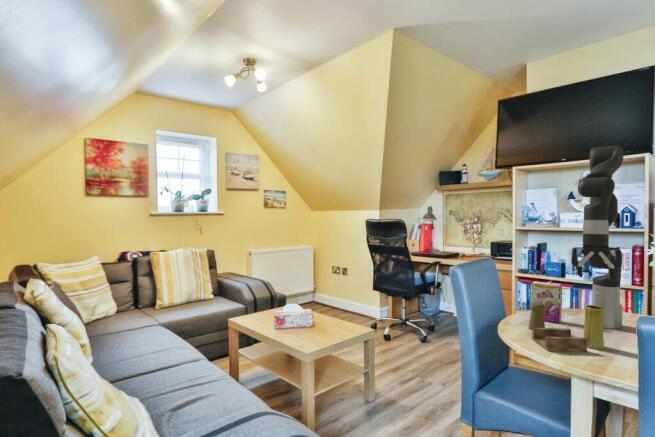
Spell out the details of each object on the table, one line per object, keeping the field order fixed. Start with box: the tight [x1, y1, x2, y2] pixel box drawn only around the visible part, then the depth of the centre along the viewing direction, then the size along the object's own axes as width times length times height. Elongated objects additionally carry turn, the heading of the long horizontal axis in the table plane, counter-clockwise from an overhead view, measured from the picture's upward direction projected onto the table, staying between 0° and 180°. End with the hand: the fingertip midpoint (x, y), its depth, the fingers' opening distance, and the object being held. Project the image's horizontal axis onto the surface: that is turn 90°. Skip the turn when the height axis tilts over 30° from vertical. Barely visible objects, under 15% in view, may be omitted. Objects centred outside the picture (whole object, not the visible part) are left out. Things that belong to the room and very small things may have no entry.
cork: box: [528, 302, 546, 331], centre depth 148 cm, size 6×6×11 cm
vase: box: [583, 304, 605, 351], centre depth 130 cm, size 6×6×14 cm
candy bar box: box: [530, 281, 563, 324], centre depth 160 cm, size 11×5×16 cm, turn 49°
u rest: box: [531, 327, 588, 353], centre depth 131 cm, size 13×11×4 cm
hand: (595, 278), depth 130 cm, fingers open, 8 cm apart
